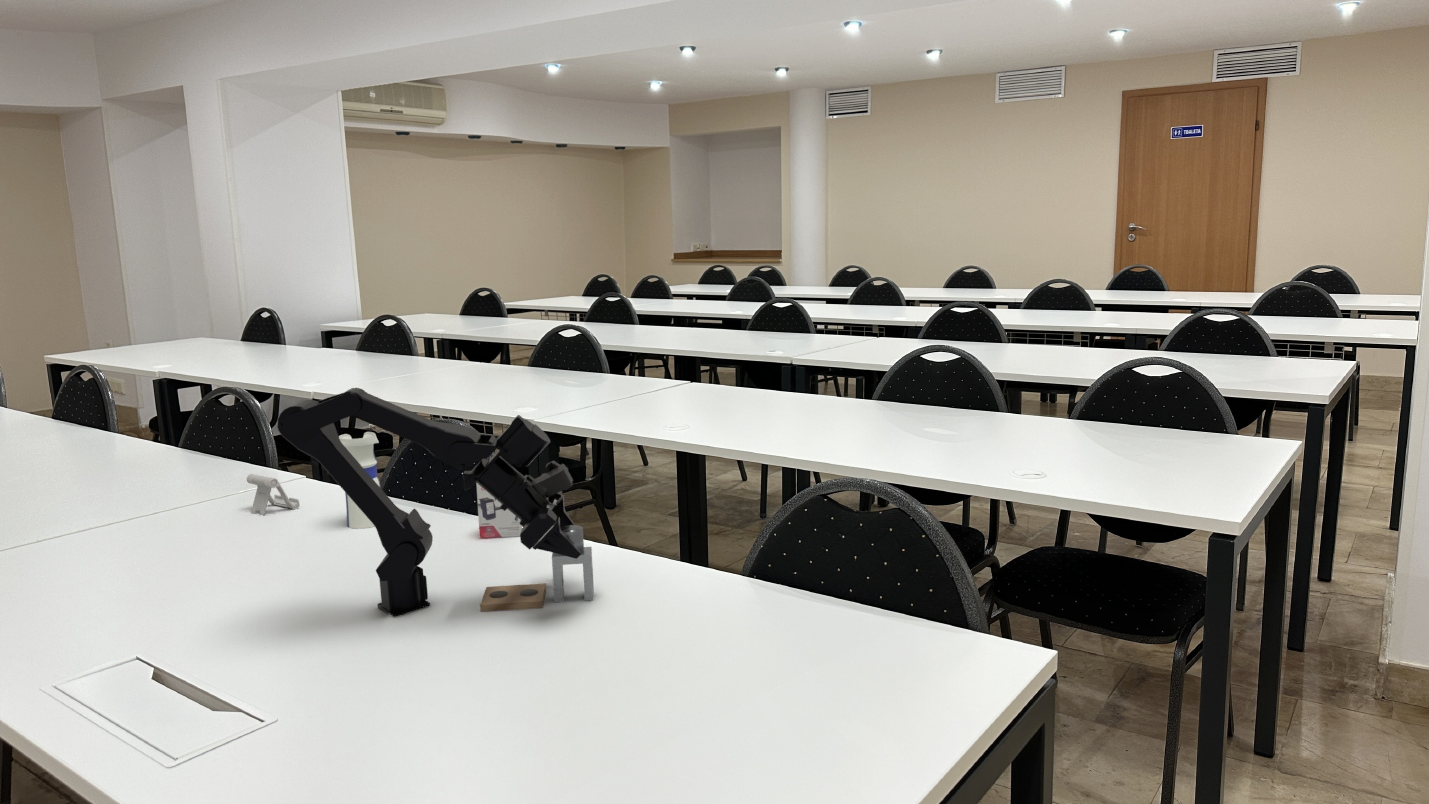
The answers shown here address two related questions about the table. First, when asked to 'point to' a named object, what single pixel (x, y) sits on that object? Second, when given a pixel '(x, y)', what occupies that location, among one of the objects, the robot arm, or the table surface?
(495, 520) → the ink box
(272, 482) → the portable electronic device stand
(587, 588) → the dividers
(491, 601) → the bolt plate
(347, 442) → the water bottle
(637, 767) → the table surface
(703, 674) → the table surface
